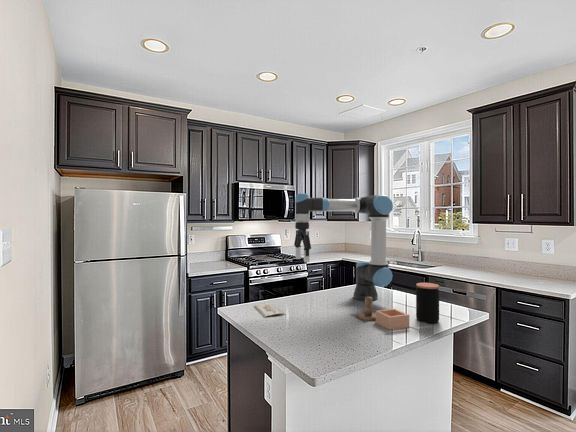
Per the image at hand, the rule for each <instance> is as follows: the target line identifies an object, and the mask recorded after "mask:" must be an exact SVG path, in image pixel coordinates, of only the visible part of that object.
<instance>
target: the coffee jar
mask: <svg viewBox="0 0 576 432" xmlns="http://www.w3.org/2000/svg"><path fill="white" fill-rule="evenodd" d="M439 288H440V285H439V284H436V283H433V282H432V283H431V282H417V283H416V289H415V318H416V320H417V321H419V322H421V323H426V324H428V325H431V324H433V325H435V324H437V323H438V322H439V321H440V290H439Z"/></svg>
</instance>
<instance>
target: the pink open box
mask: <svg viewBox="0 0 576 432" xmlns="http://www.w3.org/2000/svg"><path fill="white" fill-rule="evenodd" d="M375 313H376V321H375V323H376V324H378V325H380V326H381V327H384V328H386V329H387V330H397V329H398V330H399V329H404V328H410V314H408V313H406V312H404V311H401V310H399V309H396V308H388V309H380V310H375Z"/></svg>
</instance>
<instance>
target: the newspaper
mask: <svg viewBox="0 0 576 432" xmlns="http://www.w3.org/2000/svg"><path fill="white" fill-rule="evenodd" d="M253 307H254V308H255V309H256V310H257V312H259V314H261V316H263V318H266V317H268V316H273V315H277V316H279V317H280V316H284V315H286V314H287V313H286V312H284V311H283V310H281V309H280V308H278V307H276V306H275V305H274V304H273V303H271V302H266V303H265V302H264V303H259V304H256V305H255V304H254V305H253Z"/></svg>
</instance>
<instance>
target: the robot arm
mask: <svg viewBox="0 0 576 432" xmlns="http://www.w3.org/2000/svg"><path fill="white" fill-rule="evenodd" d="M294 203H295V205H294V206H295V207H294V208H295V210H294V211H295V213H294V215H295V216H294V218H295V220H294V221H295V225H294V226H295V239H294V244H293V246H294V248H295V260H301V258H302V257H301V252H302V251H301V250H302V249H301V247H302V246H301V243H302V244H303V262H304V263H310V250H311V249H312V245H311V240H310V232H309V229H310V212H353V213H354V214H365V215H368V218H369V219H370V223H371V226H370V230H371V231H370V232H371V235H370V236H371V238H370V243H371V244H370V261H359V262H356V263H355V265H356V267H355V288H354V292H353V296H352V297H353V298H354V299H356V300H358V301H364V302H365V297H372V301H376V300H378V298H379V295H378V291H377V289H376V287H382V288H384V287H387V286H388V285H389V284H390V283H391V281H392V280H393V272H392V270H391V269H390V268H389V266H390V265H389V262H388V261H387V220H388V219H389V218H390V213H391V212H392V211H393V208H394V203H393V201H392V199H391V198H390V197H389V196H388V195H385V194H375V195H368V196H367V195H366V196H363V197H361V196H360V197H354V198H350V199H349V198H327V197H311V196H310V194H309V193H297V194H295V199H294Z"/></svg>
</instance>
